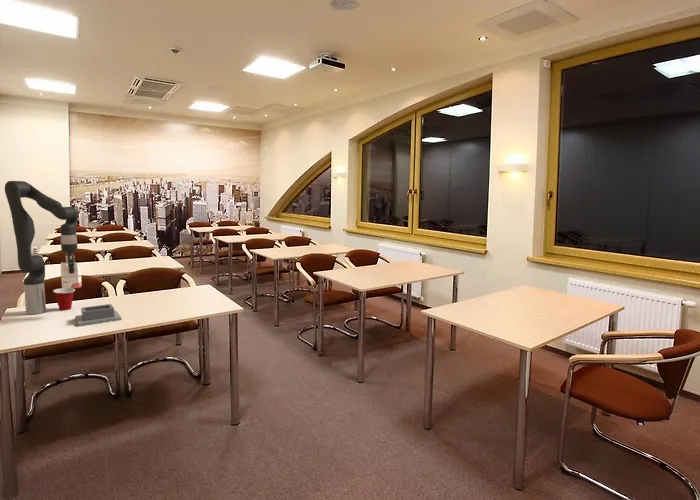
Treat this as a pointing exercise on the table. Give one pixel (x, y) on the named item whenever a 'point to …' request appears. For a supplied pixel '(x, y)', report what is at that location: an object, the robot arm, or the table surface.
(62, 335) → the table surface
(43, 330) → the table surface
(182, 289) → the table surface
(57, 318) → the table surface
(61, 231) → the robot arm
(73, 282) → the ink cartridge box
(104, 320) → the dock
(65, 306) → the plastic cup
